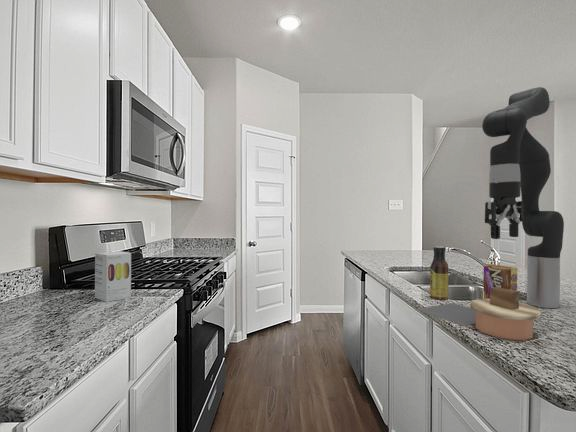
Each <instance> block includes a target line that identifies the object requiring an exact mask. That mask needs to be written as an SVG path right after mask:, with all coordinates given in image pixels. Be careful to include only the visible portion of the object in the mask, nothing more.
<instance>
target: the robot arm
mask: <svg viewBox="0 0 576 432" xmlns="http://www.w3.org/2000/svg"><path fill="white" fill-rule="evenodd" d="M550 101H551V100H550V96H549V93H548V90H547V89H546V88H545V87H541V86H538V87H534V88H530V89H526V90H523V91H518V92H516V93H512V94H511V95H509V98H508V105H507V106H506V107H504V108H501V109H497V110H494V111H492V112H489V113H488V114H487V115H485V117H484V118H483V121H482V131H483V133H484V134H485V135H486V136H487V137H489V138H498V137H504V136H508V138H507V139H506V141H504V142H501V143H499V144H495V145H493V146H492V147H491V148H490V151H489V154H490V155H489V156H490V157H489V163H490V164H489V175H488V176H489V179H488V185H489V186H488V188H489V189H488V194H489V195H488V197H489V198H491V199H493V201H486V202H485V204H484V223H485V224H488V225H489V226H490V238H491V239H492V240H500V238H501V222H502V220H504V219H507V221H508V223H509V224H508V226H509V227H508V229H509V231H508V233H509V235H508V236H509V237H511V238H518V237H519V225H520V224H522V229H523V231H524V233H525V234H526V235H527V236H530V237H541V238H542V241H541V242H540V243H539V244H537V245H536V244H535V245H534V246H529V247H528V248H527V261H526V262H527V268H526V269H527V270H526V273H527V274H526V280H527V281H526V304H527V305H531V306H533V307H536V308H537V307H538V308H544V309H558V308H560V301H561V299H560V297H561V277H560V275H561V253H562V249H563V242H564V229H565V220H564V217H563V215H562V213H560V212H559V211H556V210H540V207H539V206H540V205H539V202H540V201H539V200H540V195H541V193H542V191H543V189H544V187H545V185H546V184H547V182H548V180H549V178H550V176H551V173H552V172H551V171H552V170H551V169H552V168H551V167H552V166H551V161H550V154H549V152H548V150H547V149H546V148H545V147H544V146H543V145H542V144H541V143H540V142H539V141H538V140H537V139H536V138H535V137H534V136H533V135H532V134H531V133H530V131H529V129H528V128H527V123H528V120H530V119H532V118H534V117H539V116H541V115H543V114H545V113H546V112H547V111H548V110H549V109H550ZM520 197H521V200H516V199H517V198H520Z"/></svg>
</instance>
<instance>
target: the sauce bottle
mask: <svg viewBox="0 0 576 432" xmlns="http://www.w3.org/2000/svg"><path fill="white" fill-rule="evenodd" d="M445 256H446V246H443V245H442V246H441V245H435V246H433V258H432V262H431V263H430V266H429V268H430V269H429V272H430V273H429V274H430V275H429V277H430V278H429V295H430V299H433V300H436V301H447V300H449V264H448V262H447V261H446V257H445Z"/></svg>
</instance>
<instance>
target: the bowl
mask: <svg viewBox="0 0 576 432" xmlns="http://www.w3.org/2000/svg"><path fill="white" fill-rule="evenodd" d="M475 329H477V330H478V331H479V332H481V333H483V334H485V335H489V336H492V337H496V338H501V339H506V340H515V341H517V340H518V341H523V343H526V341H527V342H530V340H531V341H534V339H533V338H534V320H513V319H504V318H498V317H493V316H489V315H485V314H482V313H479V312H477V311H476V324H475Z"/></svg>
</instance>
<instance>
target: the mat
mask: <svg viewBox="0 0 576 432" xmlns="http://www.w3.org/2000/svg"><path fill="white" fill-rule="evenodd" d="M414 310H415V311H418V312H421V313H424V314H427V315H430V316H433V317H434V318H435V317H436V318H438V319H441V320H444V321H447V322H450V323H453V324H456V325H459V326H461V327H465V326H466V327H467V326H471V325H476V311H475V310H473V309H472V308H471V307H468V306H465V305H460V304H457V303H454V302H451V303H446V304H445V303H444V304H438V305H432V306H431V305H430V306H425V307H419V308H414Z"/></svg>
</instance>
